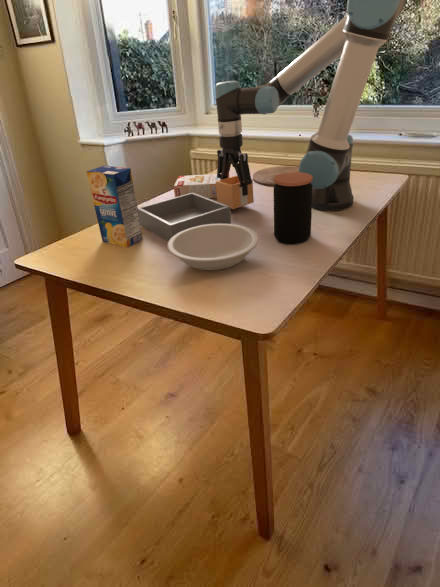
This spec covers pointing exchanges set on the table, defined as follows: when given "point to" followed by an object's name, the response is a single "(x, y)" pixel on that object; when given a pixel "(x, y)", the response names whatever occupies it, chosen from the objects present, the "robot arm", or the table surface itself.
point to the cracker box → (197, 185)
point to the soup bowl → (213, 245)
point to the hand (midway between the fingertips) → (235, 201)
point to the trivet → (271, 174)
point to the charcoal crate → (182, 214)
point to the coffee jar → (292, 207)
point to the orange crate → (232, 192)
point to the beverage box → (115, 205)
